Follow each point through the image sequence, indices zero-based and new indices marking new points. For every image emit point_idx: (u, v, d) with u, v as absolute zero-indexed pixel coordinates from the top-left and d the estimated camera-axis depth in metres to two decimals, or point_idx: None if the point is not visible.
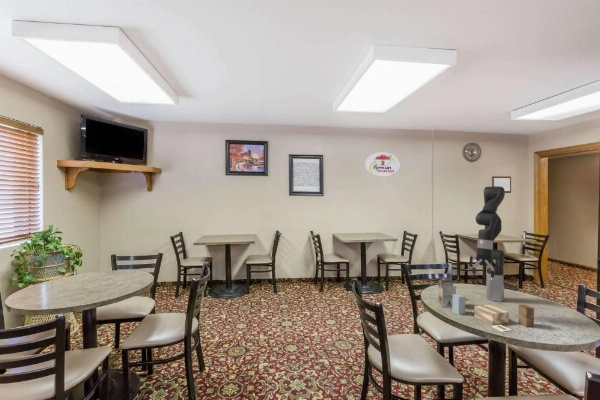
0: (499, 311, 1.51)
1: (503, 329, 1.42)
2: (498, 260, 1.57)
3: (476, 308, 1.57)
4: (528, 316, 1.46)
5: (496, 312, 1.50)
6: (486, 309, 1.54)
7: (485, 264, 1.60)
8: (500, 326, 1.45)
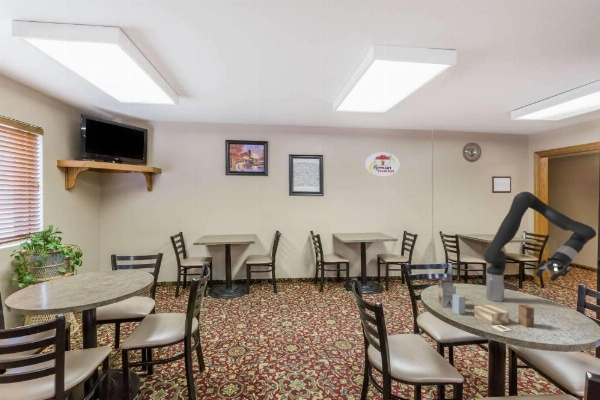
0: (499, 311, 1.51)
1: (503, 329, 1.42)
2: None
3: (476, 308, 1.57)
4: (528, 316, 1.46)
5: (496, 312, 1.50)
6: (486, 309, 1.54)
7: None
8: (500, 326, 1.45)
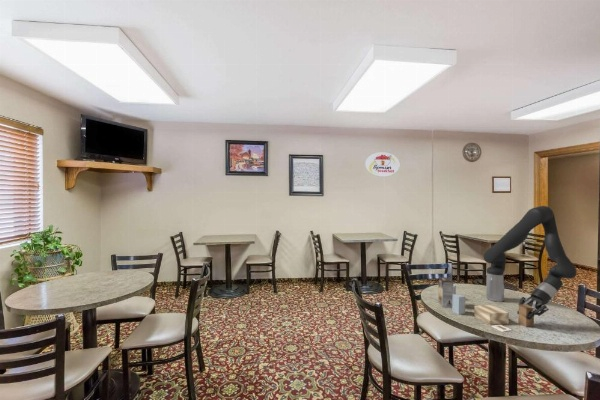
0: (498, 312, 1.51)
1: (503, 329, 1.42)
2: None
3: (476, 307, 1.58)
4: None
5: (495, 312, 1.50)
6: (485, 309, 1.54)
7: None
8: (500, 326, 1.45)
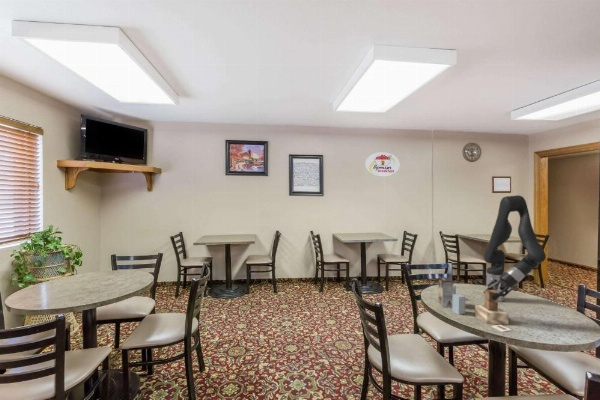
0: (498, 312, 1.50)
1: (503, 329, 1.42)
2: (495, 280, 1.60)
3: (476, 307, 1.59)
4: (491, 300, 1.52)
5: (493, 312, 1.50)
6: (485, 308, 1.55)
7: None
8: (500, 326, 1.45)
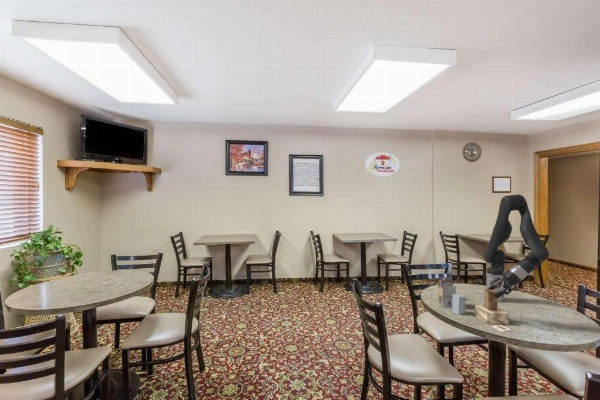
0: (498, 312, 1.50)
1: (503, 329, 1.42)
2: (498, 278, 1.60)
3: (476, 307, 1.59)
4: (491, 300, 1.53)
5: (493, 312, 1.50)
6: (485, 308, 1.55)
7: None
8: (500, 326, 1.45)
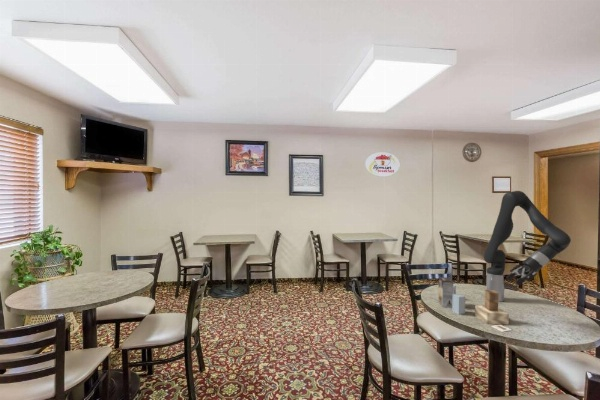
0: (498, 312, 1.50)
1: (503, 329, 1.42)
2: None
3: (476, 307, 1.59)
4: (492, 300, 1.52)
5: (493, 312, 1.50)
6: (485, 308, 1.55)
7: None
8: (500, 326, 1.45)
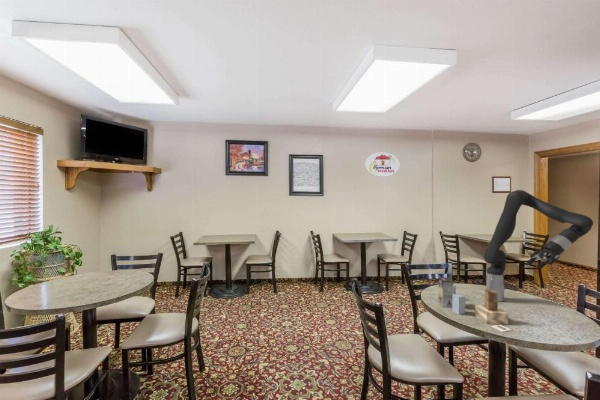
0: (497, 312, 1.50)
1: (503, 329, 1.42)
2: (538, 250, 1.57)
3: (476, 307, 1.59)
4: (491, 300, 1.52)
5: (493, 312, 1.50)
6: (485, 308, 1.55)
7: None
8: (500, 326, 1.45)
